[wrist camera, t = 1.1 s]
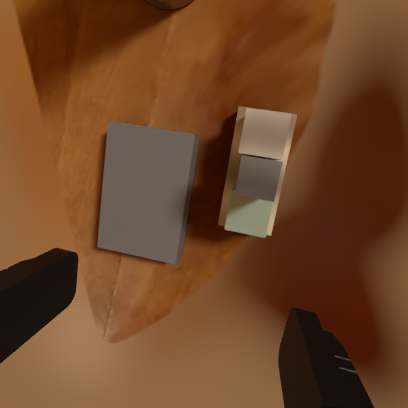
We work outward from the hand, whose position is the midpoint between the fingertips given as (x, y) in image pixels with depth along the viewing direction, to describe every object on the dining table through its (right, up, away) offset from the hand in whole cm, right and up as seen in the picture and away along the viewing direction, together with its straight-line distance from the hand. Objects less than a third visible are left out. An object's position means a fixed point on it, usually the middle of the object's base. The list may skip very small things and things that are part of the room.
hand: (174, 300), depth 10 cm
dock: (-5, +5, +23) cm, 25 cm away
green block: (+6, +3, +20) cm, 21 cm away
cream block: (+7, +10, +18) cm, 22 cm away
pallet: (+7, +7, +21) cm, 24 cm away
